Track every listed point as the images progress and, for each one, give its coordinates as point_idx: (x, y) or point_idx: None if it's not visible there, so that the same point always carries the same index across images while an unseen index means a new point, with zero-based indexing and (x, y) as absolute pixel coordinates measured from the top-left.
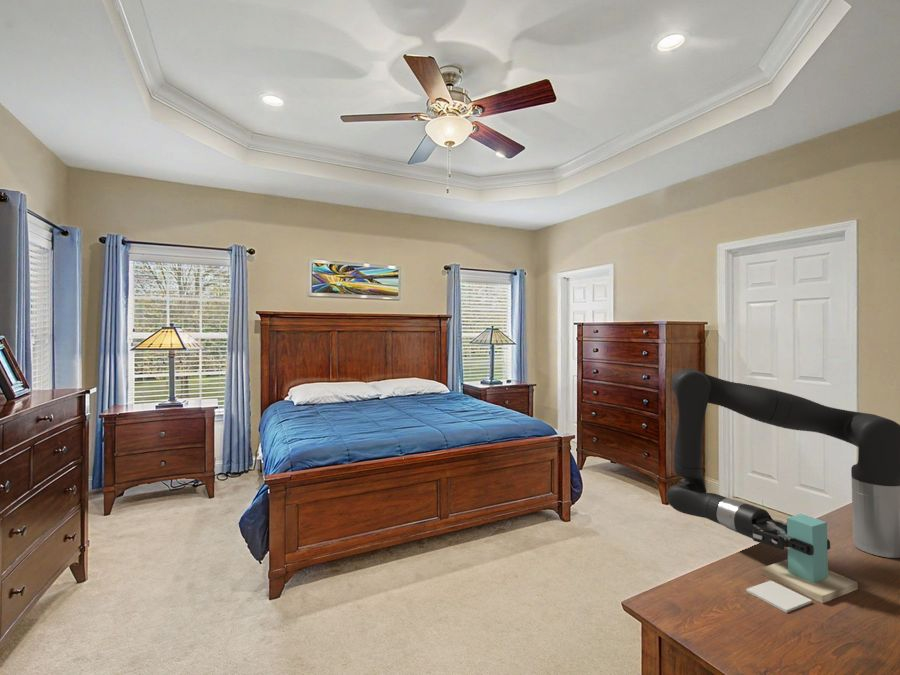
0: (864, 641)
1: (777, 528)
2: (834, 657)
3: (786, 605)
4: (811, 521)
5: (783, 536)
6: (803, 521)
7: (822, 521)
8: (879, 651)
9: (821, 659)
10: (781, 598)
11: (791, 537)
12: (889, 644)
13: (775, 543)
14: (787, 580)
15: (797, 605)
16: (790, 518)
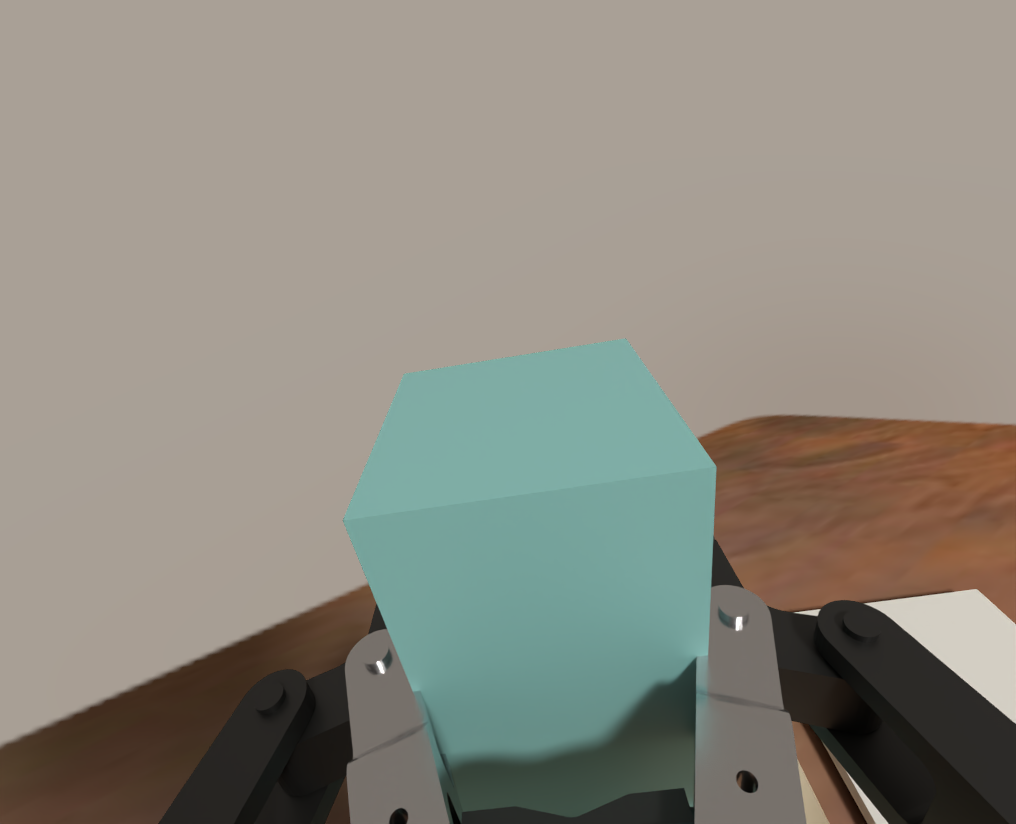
0: (738, 465)
1: (761, 793)
2: (900, 439)
3: (951, 616)
4: (513, 385)
5: (773, 667)
6: (592, 392)
7: (415, 383)
8: (732, 441)
9: (954, 437)
10: (951, 669)
11: (712, 594)
12: None
13: (874, 777)
14: (801, 768)
15: (879, 603)
16: (675, 450)
